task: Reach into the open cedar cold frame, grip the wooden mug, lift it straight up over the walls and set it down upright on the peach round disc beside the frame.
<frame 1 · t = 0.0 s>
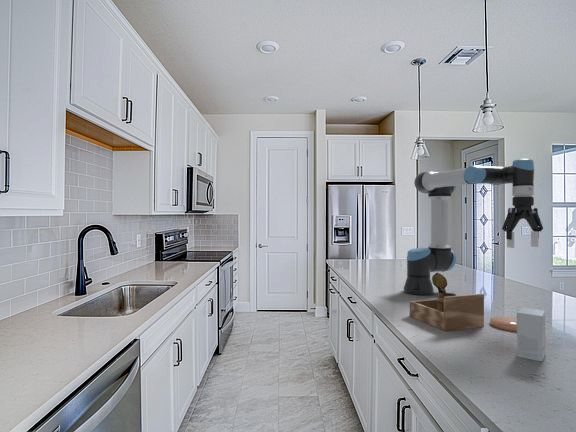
hand: (522, 247, 152), 28 cm above the worktop, tool pointing down, fingers open, 13 cm apart
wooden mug: (444, 321, 142), resting in cold frame
cold frame: (444, 321, 142), on the worktop
peach round disc: (511, 325, 136), on the worktop
small box: (531, 355, 107), on the worktop
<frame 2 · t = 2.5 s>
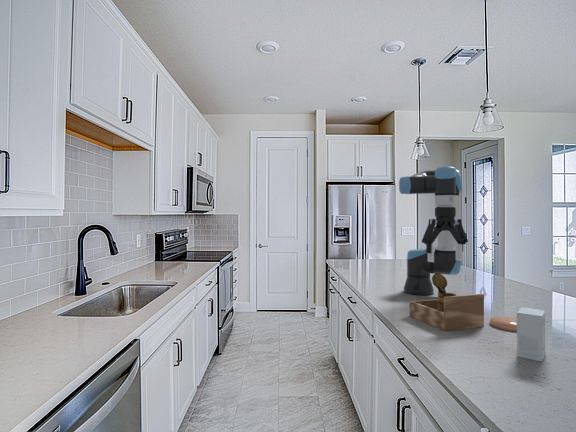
hand: (445, 261, 141), 23 cm above the worktop, tool pointing down, fingers open, 13 cm apart
nothing on the worktop moved.
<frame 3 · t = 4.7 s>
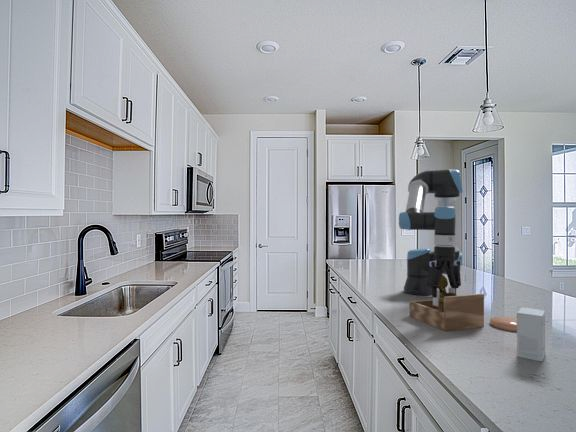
hand: (443, 304, 141), 6 cm above the worktop, tool pointing down, fingers closed on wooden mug, 7 cm apart
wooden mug: (445, 321, 142), resting in cold frame, touching gripper
everything else where it was.
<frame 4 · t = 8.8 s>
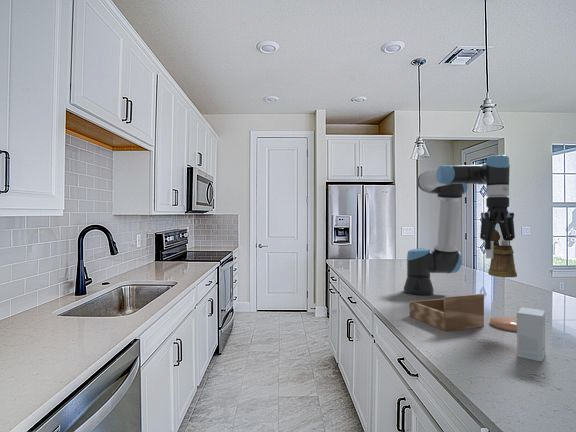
hand: (497, 257, 137), 25 cm above the worktop, tool pointing down, fingers closed on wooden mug, 7 cm apart
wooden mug: (498, 275, 137), point 19 cm above the worktop, touching gripper
everything else where it was.
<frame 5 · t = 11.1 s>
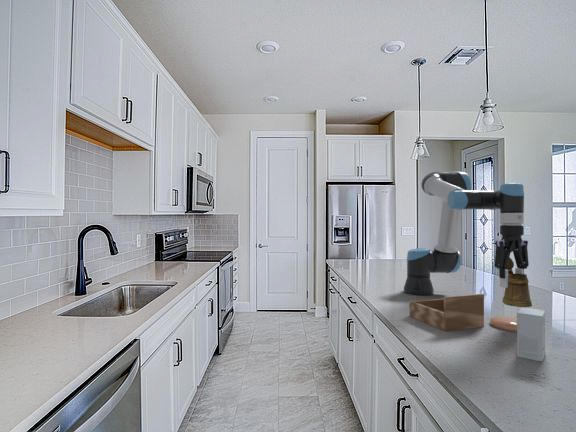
hand: (511, 286, 135), 15 cm above the worktop, tool pointing down, fingers closed on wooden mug, 7 cm apart
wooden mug: (513, 303, 136), point 8 cm above the worktop, touching gripper
everything else where it was.
when the fingers open (9 cm above the worktop, at t = 13.0 s): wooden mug stays where it is, resting on peach round disc.
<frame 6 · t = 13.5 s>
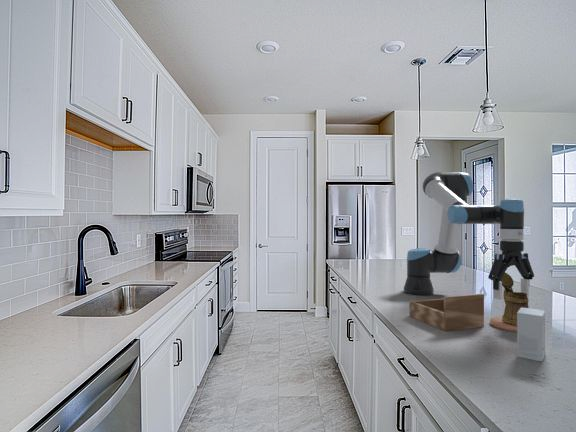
hand: (511, 297, 136), 11 cm above the worktop, tool pointing down, fingers open, 13 cm apart
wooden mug: (512, 321, 136), point 1 cm above the worktop, touching peach round disc
everything else where it was.
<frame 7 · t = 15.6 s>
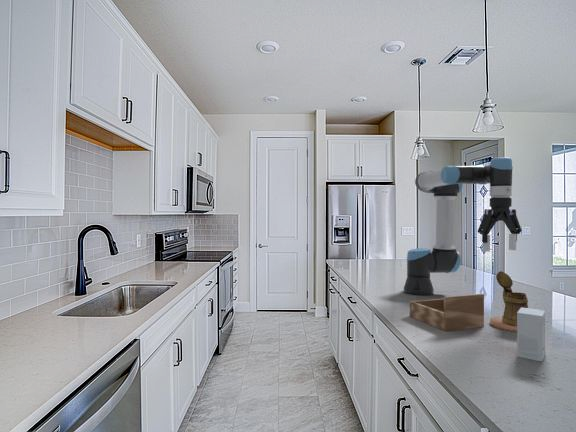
hand: (499, 250, 144), 27 cm above the worktop, tool pointing down, fingers open, 13 cm apart
nothing on the worktop moved.
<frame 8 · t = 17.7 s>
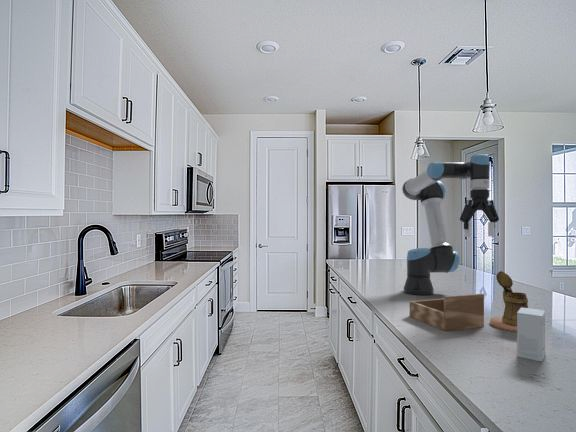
hand: (479, 236, 163), 32 cm above the worktop, tool pointing down, fingers open, 13 cm apart
nothing on the worktop moved.
at the end: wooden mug 0.6 cm from the peach round disc (horizontally); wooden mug tilted 0°; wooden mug touching peach round disc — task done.
